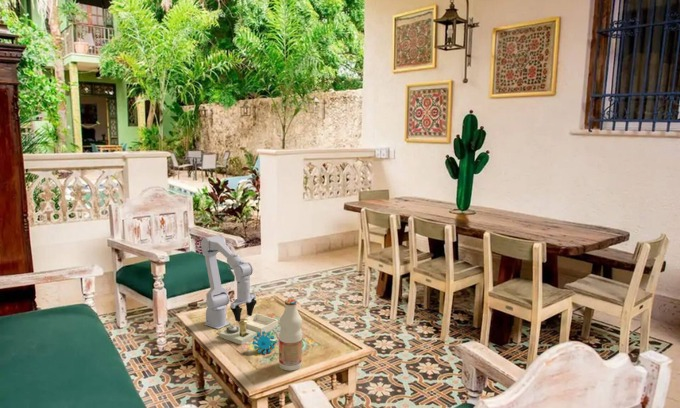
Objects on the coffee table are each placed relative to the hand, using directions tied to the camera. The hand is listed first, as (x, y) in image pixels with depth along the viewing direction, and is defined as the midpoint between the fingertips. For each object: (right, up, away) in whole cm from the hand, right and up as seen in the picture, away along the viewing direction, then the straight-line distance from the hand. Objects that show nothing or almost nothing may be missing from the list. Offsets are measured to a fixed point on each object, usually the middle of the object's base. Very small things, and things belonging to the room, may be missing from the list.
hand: (243, 318), depth 213 cm
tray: (+5, -8, +14) cm, 16 cm away
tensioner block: (-3, -9, +3) cm, 10 cm away
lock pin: (-1, -10, +2) cm, 10 cm away
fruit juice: (+24, -14, -21) cm, 35 cm away
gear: (+11, -12, -9) cm, 19 cm away
